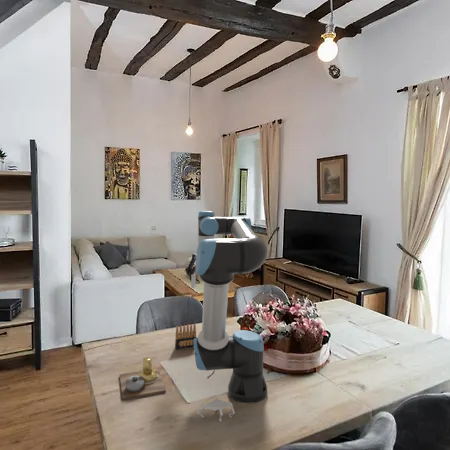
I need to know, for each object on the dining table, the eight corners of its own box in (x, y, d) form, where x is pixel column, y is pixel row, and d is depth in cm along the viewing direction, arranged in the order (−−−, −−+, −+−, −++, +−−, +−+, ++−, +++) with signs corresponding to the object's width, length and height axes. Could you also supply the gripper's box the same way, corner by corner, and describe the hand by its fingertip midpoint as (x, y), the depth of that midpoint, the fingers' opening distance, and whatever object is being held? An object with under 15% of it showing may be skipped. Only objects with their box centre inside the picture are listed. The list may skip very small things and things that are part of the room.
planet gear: (159, 380, 146) (159, 361, 145) (139, 384, 143) (138, 365, 143) (155, 371, 154) (155, 353, 153) (136, 374, 151) (136, 356, 150)
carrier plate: (165, 392, 140) (165, 380, 139) (122, 400, 134) (122, 387, 134) (158, 370, 157) (157, 359, 156) (119, 376, 151) (119, 365, 151)
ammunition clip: (195, 345, 183) (195, 322, 182) (196, 346, 181) (196, 323, 180) (175, 348, 179) (174, 324, 178) (175, 349, 178) (175, 326, 176)
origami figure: (225, 406, 132) (225, 393, 131) (235, 419, 124) (235, 405, 124) (194, 414, 126) (194, 401, 126) (202, 428, 119) (202, 414, 118)
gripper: (234, 245, 165) (233, 290, 167) (187, 241, 176) (187, 284, 178) (227, 247, 159) (226, 294, 161) (178, 243, 169) (179, 288, 171)
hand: (206, 289), depth 169 cm, fingers open, 13 cm apart
